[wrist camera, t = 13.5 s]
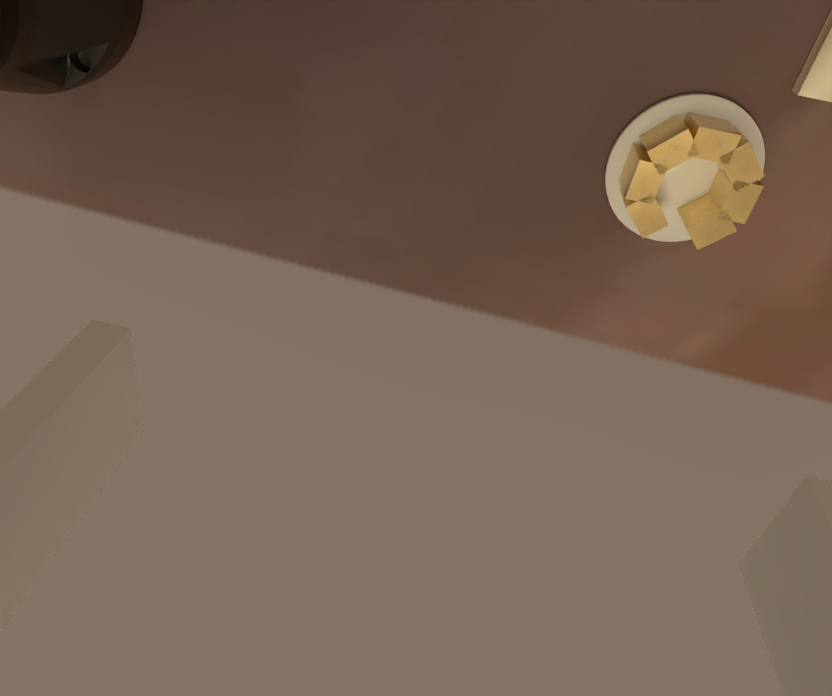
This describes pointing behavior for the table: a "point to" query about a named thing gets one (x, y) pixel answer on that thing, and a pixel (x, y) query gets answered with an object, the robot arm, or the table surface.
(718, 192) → the c link
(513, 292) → the table surface
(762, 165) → the coaster
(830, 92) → the peg stand
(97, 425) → the robot arm
